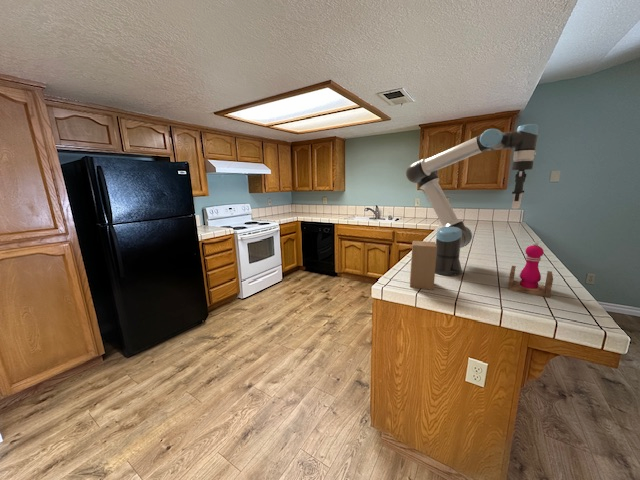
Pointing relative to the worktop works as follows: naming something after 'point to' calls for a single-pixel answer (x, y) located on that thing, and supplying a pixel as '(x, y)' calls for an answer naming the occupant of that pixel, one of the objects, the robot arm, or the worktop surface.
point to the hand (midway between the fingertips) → (516, 207)
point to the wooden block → (423, 264)
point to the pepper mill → (531, 267)
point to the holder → (539, 291)
